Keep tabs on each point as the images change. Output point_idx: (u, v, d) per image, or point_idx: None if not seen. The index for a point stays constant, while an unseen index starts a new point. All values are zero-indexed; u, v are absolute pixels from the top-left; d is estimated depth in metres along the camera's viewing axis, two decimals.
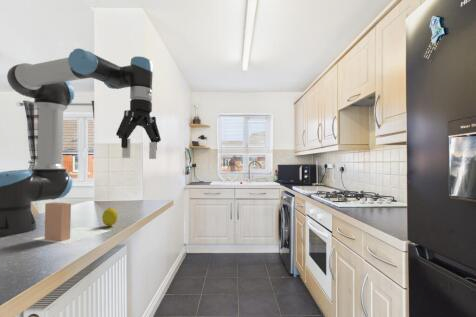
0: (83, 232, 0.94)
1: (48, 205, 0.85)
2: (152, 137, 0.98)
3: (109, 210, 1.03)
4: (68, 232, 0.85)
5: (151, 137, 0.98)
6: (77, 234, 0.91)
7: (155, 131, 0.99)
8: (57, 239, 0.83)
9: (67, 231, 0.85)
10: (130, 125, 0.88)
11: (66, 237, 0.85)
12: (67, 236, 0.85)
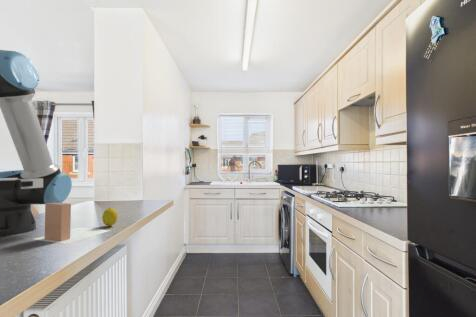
0: (83, 232, 0.94)
1: (48, 205, 0.85)
2: None
3: (109, 210, 1.03)
4: (68, 232, 0.85)
5: None
6: (77, 234, 0.91)
7: None
8: (57, 239, 0.83)
9: (67, 231, 0.85)
10: None
11: (66, 237, 0.85)
12: (67, 236, 0.85)
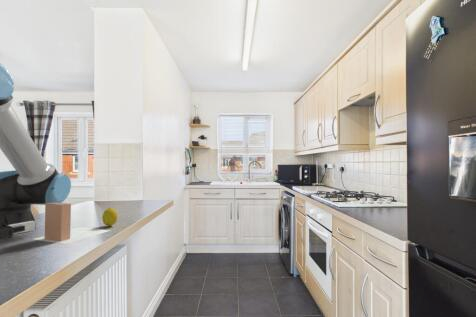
0: (83, 232, 0.94)
1: (48, 205, 0.85)
2: None
3: (109, 210, 1.03)
4: (68, 232, 0.85)
5: None
6: (77, 234, 0.91)
7: None
8: (57, 239, 0.83)
9: (67, 231, 0.85)
10: None
11: (66, 237, 0.85)
12: (67, 236, 0.85)
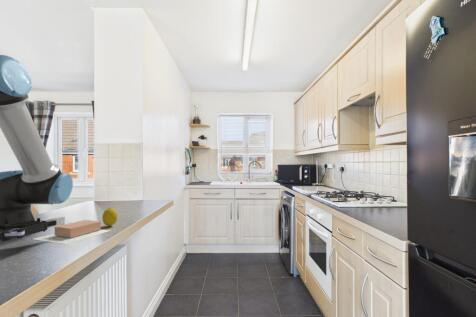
0: None
1: (87, 220, 0.99)
2: None
3: (109, 210, 1.03)
4: (77, 234, 0.88)
5: None
6: None
7: None
8: (68, 227, 0.87)
9: (78, 232, 0.89)
10: None
11: (73, 233, 0.87)
12: (73, 234, 0.87)
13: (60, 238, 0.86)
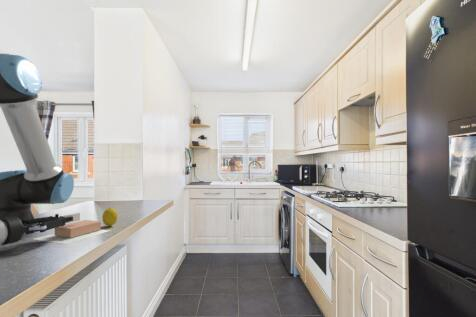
0: None
1: (87, 220, 0.99)
2: None
3: (109, 210, 1.03)
4: (77, 234, 0.88)
5: None
6: None
7: None
8: (68, 227, 0.87)
9: (78, 232, 0.89)
10: None
11: (73, 233, 0.87)
12: (73, 234, 0.87)
13: (60, 238, 0.86)
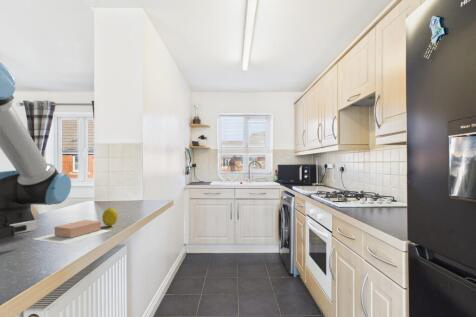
0: None
1: (87, 220, 0.99)
2: None
3: (109, 210, 1.03)
4: (77, 234, 0.88)
5: None
6: None
7: None
8: (68, 227, 0.87)
9: (78, 232, 0.89)
10: None
11: (73, 233, 0.87)
12: (73, 234, 0.87)
13: (60, 238, 0.86)
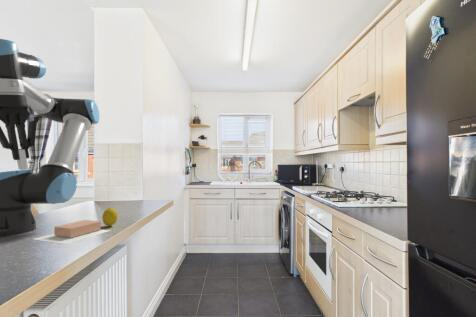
0: None
1: (87, 220, 0.99)
2: (21, 141, 0.80)
3: (109, 210, 1.03)
4: (77, 234, 0.88)
5: (20, 140, 0.81)
6: None
7: (30, 132, 0.82)
8: (68, 227, 0.87)
9: (78, 232, 0.89)
10: (8, 132, 0.78)
11: (73, 233, 0.87)
12: (73, 234, 0.87)
13: (60, 238, 0.86)
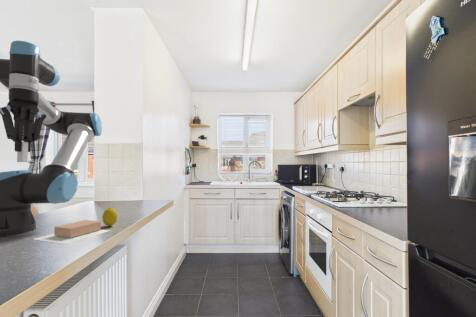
0: None
1: (87, 220, 0.99)
2: (26, 134, 0.83)
3: (109, 210, 1.03)
4: (77, 234, 0.88)
5: (25, 134, 0.83)
6: None
7: (35, 128, 0.86)
8: (68, 227, 0.87)
9: (78, 232, 0.89)
10: (16, 124, 0.81)
11: (73, 233, 0.87)
12: (73, 234, 0.87)
13: (60, 238, 0.86)
